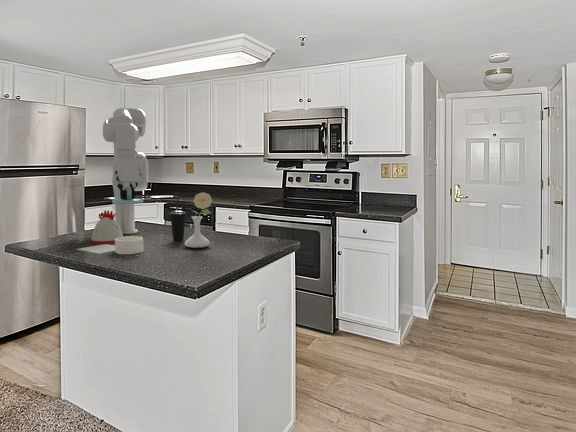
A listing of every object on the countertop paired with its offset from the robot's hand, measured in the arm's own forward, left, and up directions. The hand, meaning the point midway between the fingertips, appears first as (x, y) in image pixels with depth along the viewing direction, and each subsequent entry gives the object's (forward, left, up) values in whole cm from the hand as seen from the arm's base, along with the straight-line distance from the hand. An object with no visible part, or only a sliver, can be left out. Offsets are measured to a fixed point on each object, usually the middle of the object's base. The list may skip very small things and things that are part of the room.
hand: (127, 198), depth 176 cm
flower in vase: (+16, +25, -23) cm, 38 cm away
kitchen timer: (-28, +10, -23) cm, 38 cm away
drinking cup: (-3, +31, -23) cm, 39 cm away
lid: (0, 0, -2) cm, 2 cm away
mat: (-14, -3, -23) cm, 27 cm away
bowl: (0, 0, -23) cm, 23 cm away
